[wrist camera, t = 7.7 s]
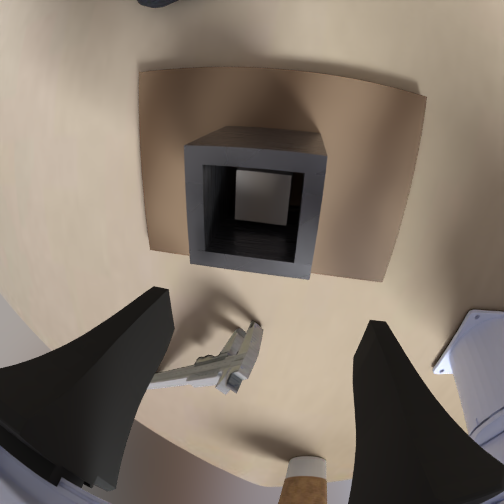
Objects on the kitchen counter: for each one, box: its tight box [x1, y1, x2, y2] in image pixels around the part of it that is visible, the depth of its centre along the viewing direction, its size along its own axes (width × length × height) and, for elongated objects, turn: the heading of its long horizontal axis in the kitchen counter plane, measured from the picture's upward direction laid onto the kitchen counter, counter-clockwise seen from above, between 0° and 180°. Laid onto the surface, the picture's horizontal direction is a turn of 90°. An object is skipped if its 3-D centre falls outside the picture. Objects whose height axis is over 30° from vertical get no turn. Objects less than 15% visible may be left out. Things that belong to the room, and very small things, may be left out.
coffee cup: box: [278, 456, 327, 504], centre depth 32 cm, size 8×8×15 cm
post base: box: [139, 67, 427, 282], centre depth 15 cm, size 16×12×5 cm
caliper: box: [147, 321, 263, 395], centre depth 25 cm, size 20×1×6 cm, turn 133°
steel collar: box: [184, 126, 328, 280], centre depth 13 cm, size 5×5×6 cm
